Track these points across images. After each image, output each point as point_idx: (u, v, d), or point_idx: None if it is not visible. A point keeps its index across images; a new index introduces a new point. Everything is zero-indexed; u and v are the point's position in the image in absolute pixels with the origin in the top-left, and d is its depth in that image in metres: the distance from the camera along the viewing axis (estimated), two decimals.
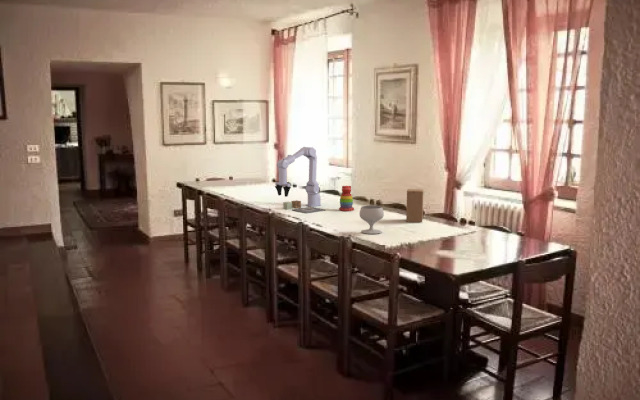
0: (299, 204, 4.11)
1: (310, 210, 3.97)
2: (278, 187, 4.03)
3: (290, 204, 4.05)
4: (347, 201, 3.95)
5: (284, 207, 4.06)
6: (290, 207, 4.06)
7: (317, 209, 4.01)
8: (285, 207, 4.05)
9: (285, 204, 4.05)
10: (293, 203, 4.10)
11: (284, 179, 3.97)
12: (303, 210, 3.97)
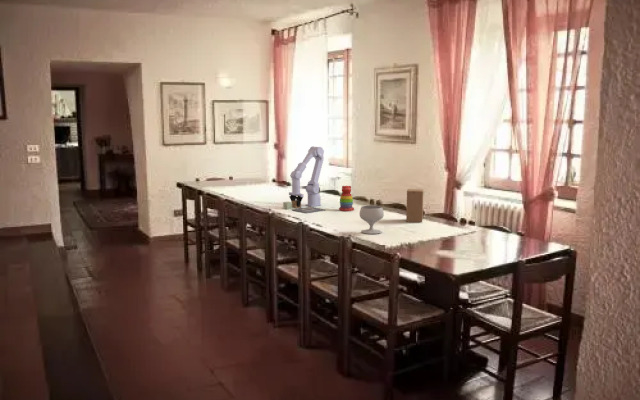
0: None
1: (310, 210, 3.97)
2: (292, 197, 4.12)
3: (290, 204, 4.05)
4: (347, 201, 3.95)
5: (284, 207, 4.06)
6: (290, 207, 4.06)
7: (317, 209, 4.01)
8: (285, 207, 4.05)
9: (285, 204, 4.05)
10: (293, 203, 4.10)
11: (297, 189, 4.08)
12: (303, 210, 3.97)
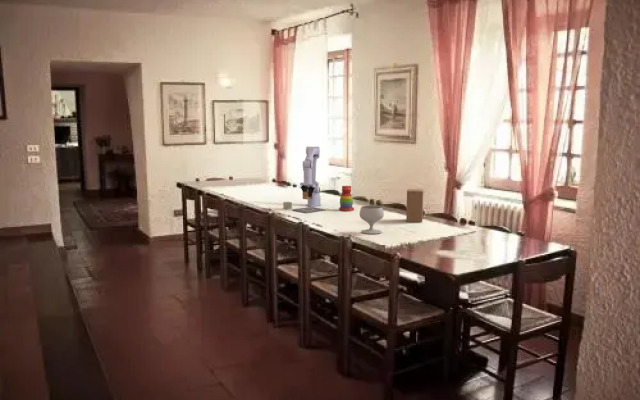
0: None
1: (310, 210, 3.97)
2: (304, 188, 4.00)
3: (290, 204, 4.05)
4: (347, 201, 3.95)
5: (284, 207, 4.06)
6: (290, 207, 4.06)
7: (317, 209, 4.01)
8: (285, 207, 4.05)
9: (285, 204, 4.05)
10: (304, 194, 3.98)
11: (309, 179, 3.95)
12: (303, 210, 3.97)
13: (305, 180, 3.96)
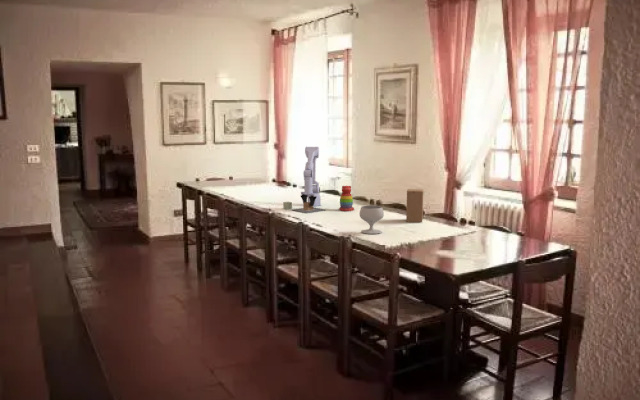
0: (311, 206, 3.99)
1: (310, 210, 3.97)
2: (303, 197, 4.01)
3: (290, 204, 4.05)
4: (347, 201, 3.95)
5: (284, 207, 4.06)
6: (290, 207, 4.06)
7: (317, 209, 4.01)
8: (285, 207, 4.05)
9: (285, 204, 4.05)
10: (305, 205, 3.98)
11: (310, 189, 3.96)
12: (303, 210, 3.97)
13: (306, 189, 3.96)
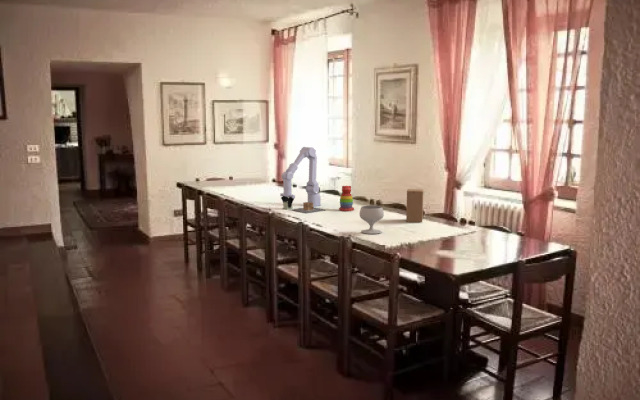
0: (311, 206, 3.99)
1: (310, 210, 3.97)
2: (284, 198, 4.07)
3: None
4: (347, 201, 3.95)
5: (284, 207, 4.06)
6: (290, 207, 4.06)
7: (317, 209, 4.01)
8: (285, 207, 4.05)
9: (285, 204, 4.05)
10: (305, 205, 3.98)
11: (289, 190, 4.03)
12: (303, 210, 3.97)
13: (285, 191, 4.03)
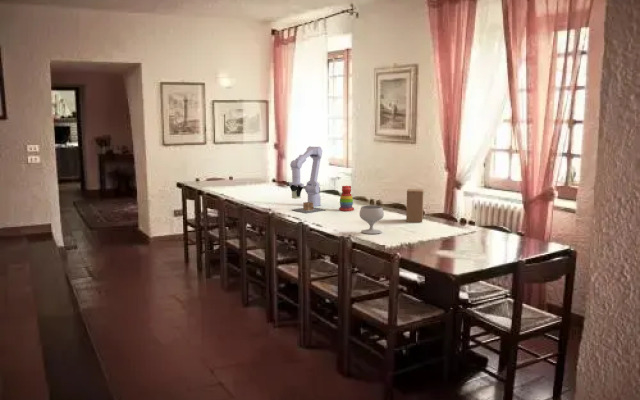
0: (311, 206, 3.99)
1: (310, 210, 3.97)
2: (293, 187, 4.03)
3: None
4: (347, 201, 3.95)
5: (293, 196, 4.02)
6: (299, 196, 4.02)
7: (317, 209, 4.01)
8: (294, 196, 4.01)
9: (294, 193, 4.01)
10: (305, 205, 3.98)
11: (297, 179, 3.99)
12: (303, 210, 3.97)
13: (293, 180, 3.99)
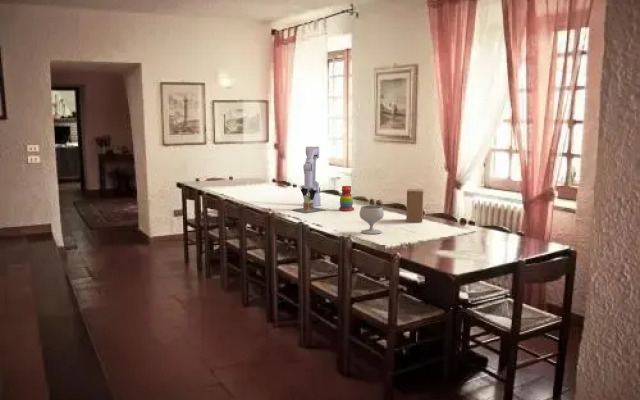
0: (311, 206, 3.99)
1: (310, 210, 3.97)
2: (304, 190, 4.00)
3: None
4: (347, 201, 3.95)
5: (305, 201, 3.99)
6: (311, 201, 3.98)
7: (317, 209, 4.01)
8: (306, 201, 3.98)
9: (306, 197, 3.97)
10: (305, 205, 3.98)
11: (310, 182, 3.95)
12: (303, 210, 3.97)
13: (306, 183, 3.95)
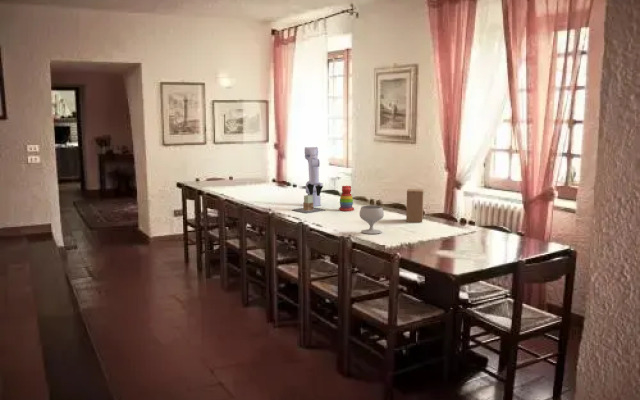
0: (311, 206, 3.99)
1: (310, 210, 3.97)
2: (310, 186, 4.04)
3: (311, 197, 3.98)
4: (347, 201, 3.95)
5: (305, 201, 3.99)
6: (311, 201, 3.98)
7: (317, 209, 4.01)
8: (306, 201, 3.98)
9: (306, 197, 3.97)
10: (305, 205, 3.98)
11: (316, 178, 3.99)
12: (303, 210, 3.97)
13: (312, 179, 3.99)
